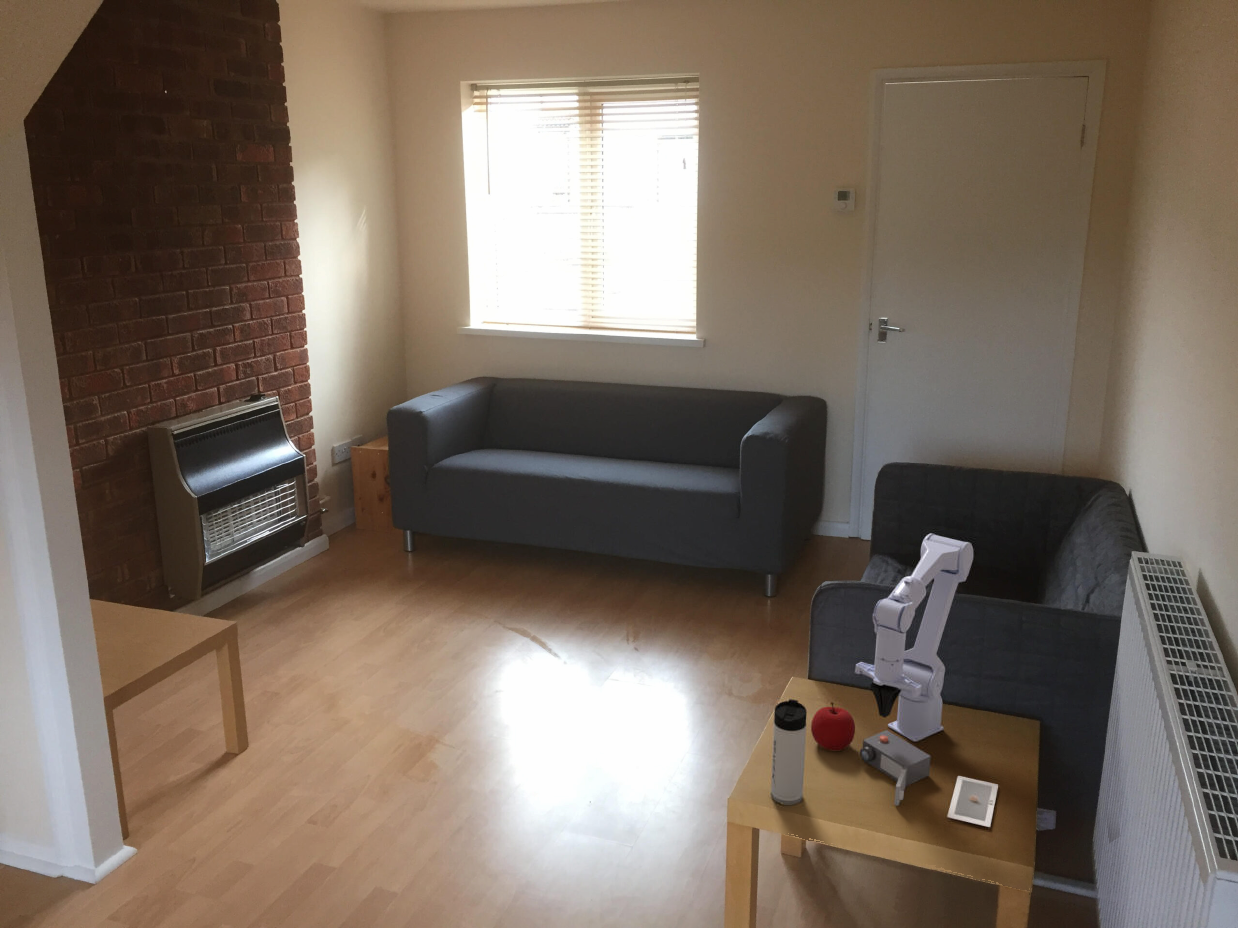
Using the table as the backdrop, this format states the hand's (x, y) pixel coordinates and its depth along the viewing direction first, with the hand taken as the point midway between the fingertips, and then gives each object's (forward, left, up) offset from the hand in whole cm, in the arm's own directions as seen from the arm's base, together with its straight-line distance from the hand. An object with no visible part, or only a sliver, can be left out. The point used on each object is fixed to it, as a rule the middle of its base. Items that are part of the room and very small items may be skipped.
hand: (884, 714), depth 220 cm
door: (+7, +12, -10) cm, 17 cm away
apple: (+5, -10, -11) cm, 15 cm away
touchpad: (-3, +21, -11) cm, 24 cm away
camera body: (0, +4, -10) cm, 11 cm away
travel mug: (+26, -1, -11) cm, 28 cm away
